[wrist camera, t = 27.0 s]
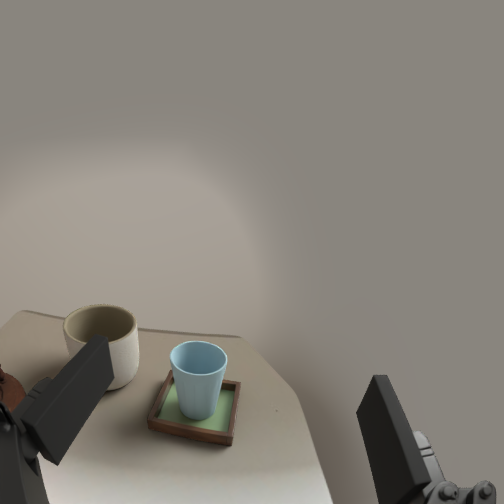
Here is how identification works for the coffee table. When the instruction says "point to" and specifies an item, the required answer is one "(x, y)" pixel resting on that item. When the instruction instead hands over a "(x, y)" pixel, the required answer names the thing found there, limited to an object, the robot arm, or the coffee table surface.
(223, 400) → the wooden serving tray
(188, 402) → the cup
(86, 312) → the planter
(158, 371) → the coffee table surface
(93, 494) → the coffee table surface
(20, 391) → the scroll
